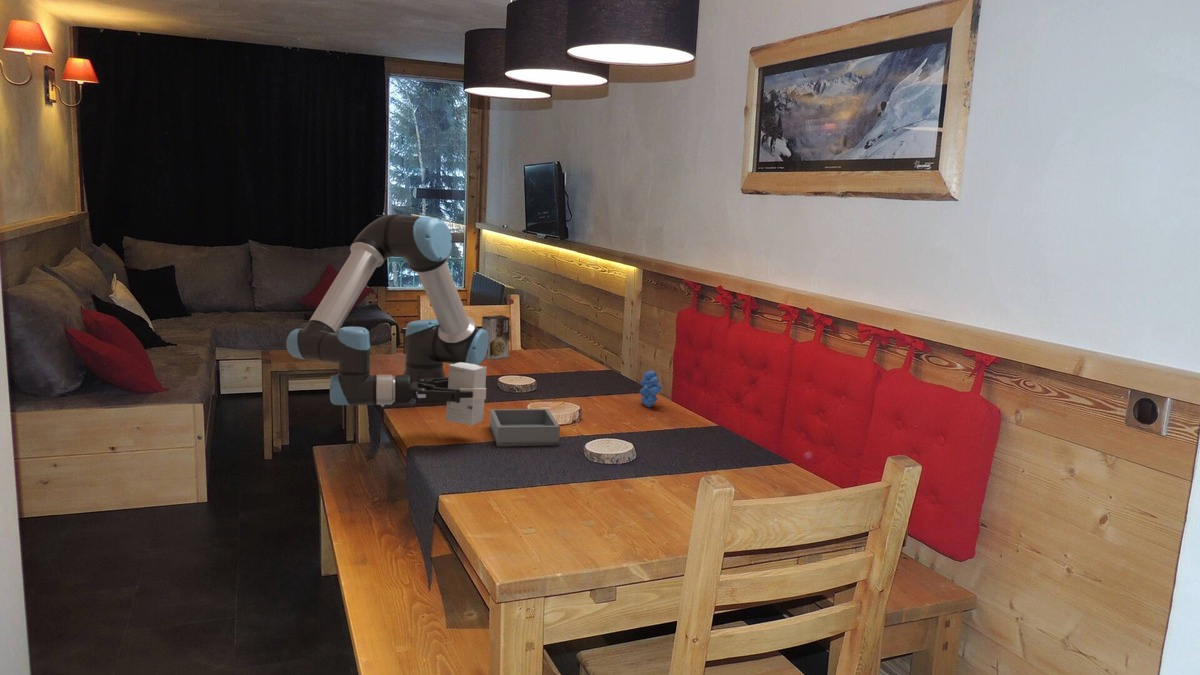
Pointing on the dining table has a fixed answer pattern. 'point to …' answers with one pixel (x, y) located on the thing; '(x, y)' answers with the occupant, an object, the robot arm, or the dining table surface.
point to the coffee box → (497, 336)
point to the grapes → (650, 388)
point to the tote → (524, 427)
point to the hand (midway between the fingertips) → (483, 388)
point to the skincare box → (466, 378)
